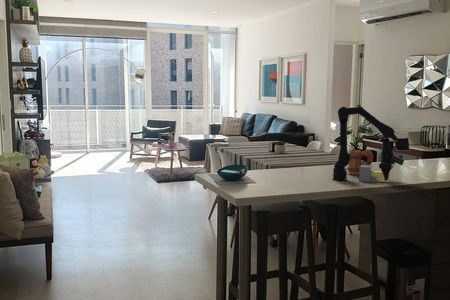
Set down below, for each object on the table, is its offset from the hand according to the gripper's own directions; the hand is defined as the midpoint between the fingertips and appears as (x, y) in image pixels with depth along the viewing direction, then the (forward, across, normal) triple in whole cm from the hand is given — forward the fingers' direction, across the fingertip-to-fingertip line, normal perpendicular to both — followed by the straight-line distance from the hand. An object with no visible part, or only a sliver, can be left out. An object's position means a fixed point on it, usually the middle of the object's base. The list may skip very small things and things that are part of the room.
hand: (386, 179), depth 235 cm
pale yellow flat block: (+1, 0, +4) cm, 4 cm away
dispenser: (+1, 0, +9) cm, 9 cm away
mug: (+1, +17, +17) cm, 24 cm away
